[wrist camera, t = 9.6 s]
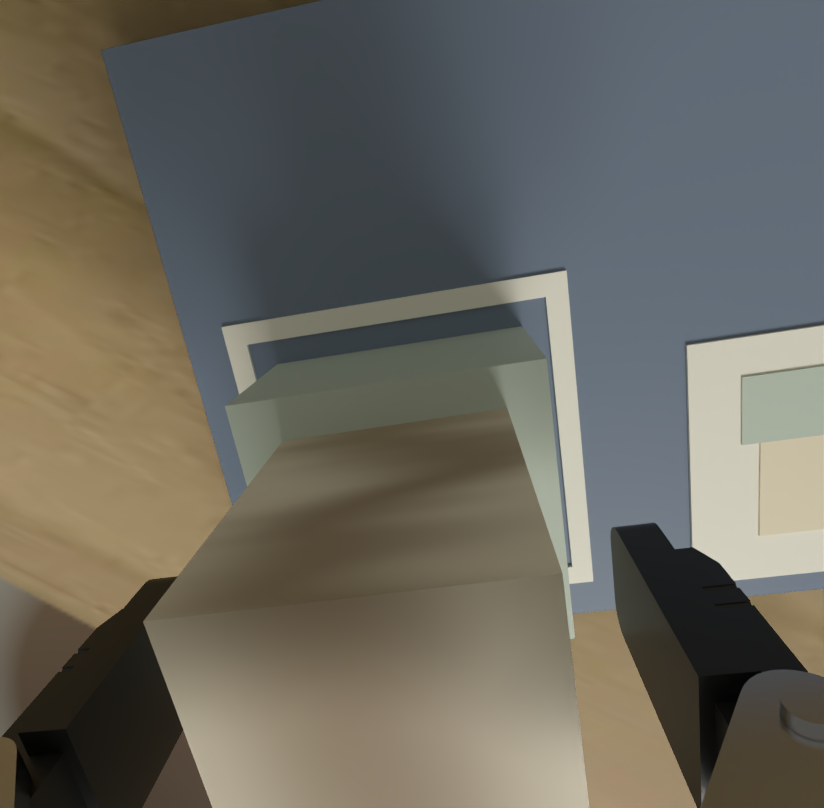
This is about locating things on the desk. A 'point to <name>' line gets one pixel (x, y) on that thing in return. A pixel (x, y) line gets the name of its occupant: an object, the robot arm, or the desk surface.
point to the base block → (411, 403)
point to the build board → (523, 234)
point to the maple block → (379, 629)
